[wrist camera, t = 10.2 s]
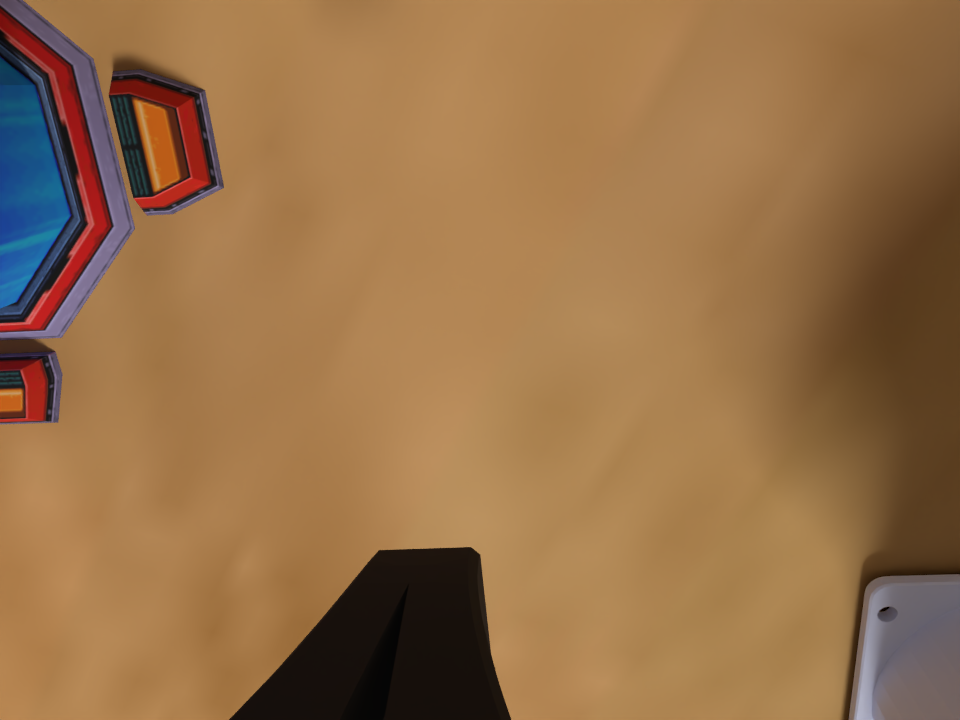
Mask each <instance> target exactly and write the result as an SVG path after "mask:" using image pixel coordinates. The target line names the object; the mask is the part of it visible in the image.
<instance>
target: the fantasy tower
mask: <svg viewBox="0 0 960 720" xmlns="http://www.w3.org/2000/svg"><path fill="white" fill-rule="evenodd" d="M109 98H110V102H111V106H112V111H113V115H114V119H115V123H116V127H117V131H118V136H119V140H120V144H121V148H122V152H123V156H124V161H125V165H126V169H127V173H128V177H129V181H130V186H131V190H132V194H133V198H134V199H135V201H136V202H137V203H138V205H139V206H140V207H141V208H142V210H143V211H144V212H145V214H146V215H163V214H174V213H175V212H177V211H179V210H181V209H183V208H185V207H187V206H189V205H191V204H193V203H195V202H197V201H199V200H201V199H203V198H205V197H207V196H209V195H211V194H213V193H215V192H217V191H218V190H220V189H222V188H224V185H223V180H222V175H221V170H220V165H219V160H218V154H217V149H216V144H215V139H214V134H213V129H212V124H211V119H210V114H209V108H208V103H207V98H206V93H205V90H202V89H199V88H196V87H193V86H190V85H187V84H184V83H181V82H178V81H175V80H172V79H168V78H165V77H162V76H159V75H156V74H153V73H150V72H147V71H144V70H141V69H139V70H127V71H115V72H113V75H112V80H111V86H110V92H109ZM134 229H135V227H134V223H133V219H132V215H131V211H130V206H129V202H128V198H127V194H126V190H125V186H124V182H123V178H122V174H121V170H120V166H119V162H118V158H117V153H116V149H115V145H114V141H113V137H112V133H111V129H110V125H109V121H108V117H107V113H106V109H105V105H104V101H103V96H102V92H101V88H100V84H99V80H98V76H97V72H96V68H95V64H94V60H93V58H92V57H90V56H89V55H88V54H87V53H86V52H84V51H83V50H82V49H81V48H80V47H78V46H77V45H76V44H75V43H74V42H72V41H71V40H70V39H69V38H68V37H66V36H65V35H64V34H63V33H62V32H60V31H59V30H58V29H57V28H56V27H54V26H53V25H52V24H51V23H49V22H48V21H47V20H46V19H45V18H43V17H42V16H41V15H40V14H39V13H37V12H36V11H35V10H34V9H33V8H31V7H30V6H29V5H28V4H27V3H25V2H24V1H23V0H0V340H18V339H41V338H62V336H63V335H64V333H65V332H66V330H67V329H68V327H69V326H70V324H71V323H72V322H73V320H74V319H75V317H76V316H77V314H78V313H79V311H80V310H81V308H82V307H83V305H84V304H85V302H86V301H87V299H88V298H89V296H90V295H91V293H92V292H93V290H94V289H95V287H96V286H97V284H98V283H99V281H100V280H101V278H102V277H103V275H104V274H105V272H106V271H107V269H108V268H109V266H110V265H111V263H112V262H113V260H114V259H115V257H116V256H117V254H118V253H119V251H120V250H121V248H122V247H123V245H124V244H125V242H126V241H127V239H128V238H129V236H130V235H131V234H132V232H133V231H134ZM61 383H62V372H61V369H60V365H59V362H58V359H57V356H56V352H33V353H10V354H0V424H24V423H55V422H58V418H59V406H60V395H61Z"/></svg>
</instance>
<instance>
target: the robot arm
mask: <svg viewBox="0 0 960 720" xmlns="http://www.w3.org/2000/svg"><path fill="white" fill-rule="evenodd" d="M884 607H890V608H889V609H887V610H886V611H883V612H879V610H881V609H882V608H884ZM229 720H511V718H510V715H509V712H508V709H507V706H506V703H505V700H504V697H503V694H502V691H501V688H500V685H499V681H498V678H497V675H496V671H495V667H494V664H493V660H492V656H491V650H490V641H489V632H488V623H487V613H486V604H485V595H484V586H483V577H482V567H481V558H480V554H479V553H477V552H476V551H475V550H474V549H472V548H471V547H464V548H434V549H404V550H379V551H378V552H377V553H376V554H375V555H374V557H373V558H372V559H371V560H370V561H369V562H368V563H367V565H366V566H365V567H364V568H363V569H362V571H361V572H360V573H359V574H358V575H357V577H356V578H355V579H354V580H353V582H352V583H351V584H350V585H349V586H348V588H347V589H346V590H345V591H344V593H343V594H342V595H341V596H340V597H339V599H338V600H337V601H336V602H335V603H334V605H333V606H332V607H331V608H330V609H329V611H328V612H327V613H326V614H325V615H324V617H323V618H322V619H321V620H320V621H319V623H318V624H317V625H316V626H315V627H314V628H313V629H312V631H311V632H310V633H309V634H308V635H307V636H306V637H305V639H304V640H303V641H302V642H301V643H300V644H299V645H298V646H297V648H296V649H295V650H294V651H293V652H292V653H291V654H290V656H289V657H288V658H287V659H286V660H285V661H284V662H283V664H282V665H281V666H280V667H279V668H278V669H277V670H276V671H275V672H274V673H273V675H272V676H271V677H270V678H269V679H268V680H267V681H266V682H265V683H264V684H263V685H262V686H261V687H260V688H259V689H258V690H257V691H256V692H255V693H254V694H253V695H252V697H251V698H250V699H249V700H248V701H247V702H246V703H245V704H244V705H243V706H242V707H241V708H240V709H239V710H238V711H237V712H236V713H235V714H234V715H233V716H232V717H231V718H230V719H229ZM849 720H960V574H947V575H910V576H884V577H878V578H876V579H874V580H873V581H871V582H870V583H869V584H868V585H867V587H866V590H865V594H864V602H863V610H862V618H861V626H860V634H859V642H858V650H857V657H856V665H855V673H854V681H853V689H852V697H851V705H850V713H849Z"/></svg>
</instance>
